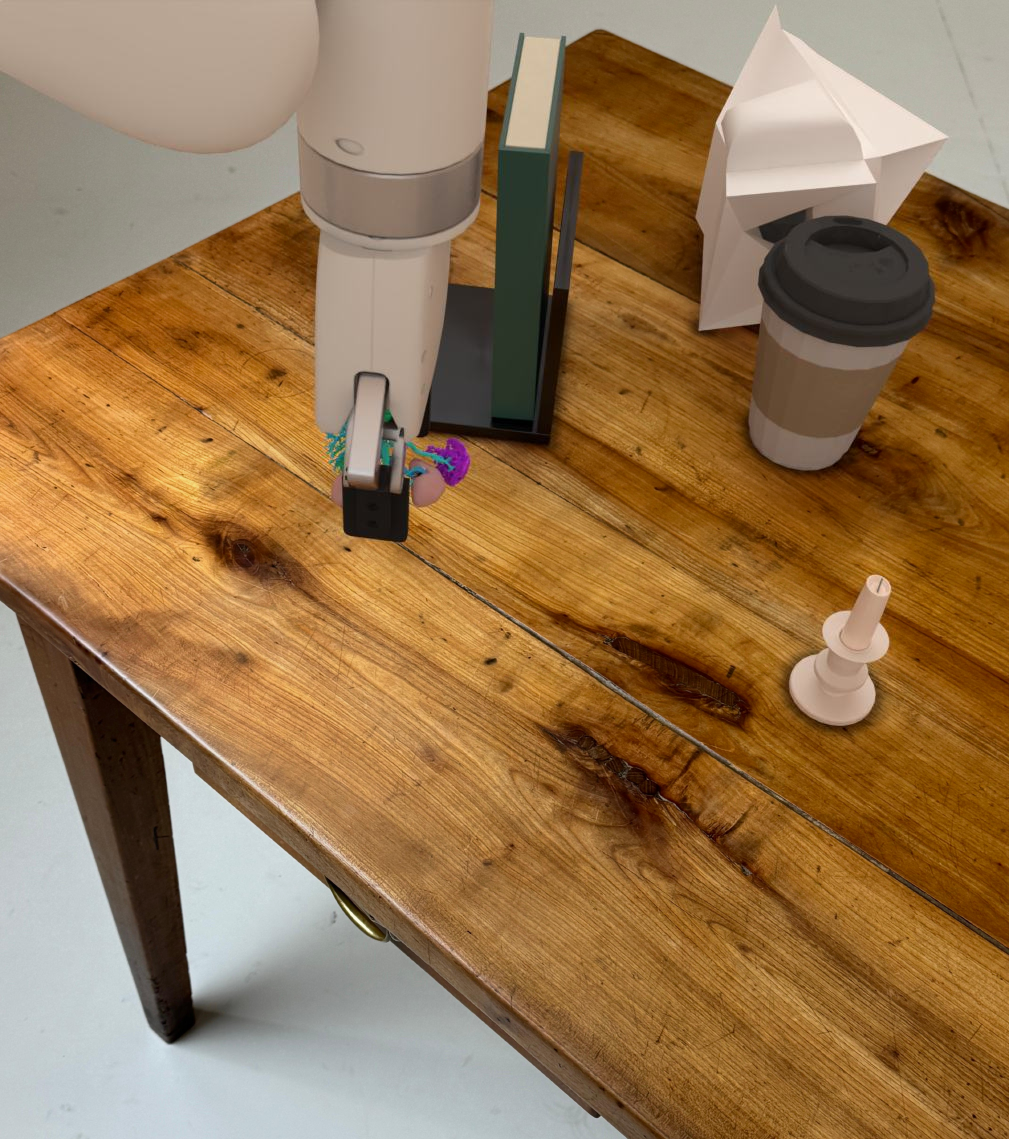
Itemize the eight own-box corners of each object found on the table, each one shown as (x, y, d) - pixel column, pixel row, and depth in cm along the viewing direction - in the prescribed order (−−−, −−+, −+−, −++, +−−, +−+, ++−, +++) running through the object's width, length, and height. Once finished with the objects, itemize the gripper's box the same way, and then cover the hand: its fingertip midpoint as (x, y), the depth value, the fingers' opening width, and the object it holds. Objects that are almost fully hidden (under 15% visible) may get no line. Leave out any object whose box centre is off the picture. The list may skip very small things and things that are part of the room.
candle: (888, 688, 78) (945, 574, 70) (847, 741, 76) (902, 629, 68) (814, 644, 80) (862, 528, 72) (772, 695, 78) (817, 580, 69)
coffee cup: (863, 390, 96) (929, 211, 84) (888, 497, 89) (963, 318, 77) (713, 380, 95) (758, 198, 84) (725, 487, 88) (776, 305, 77)
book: (498, 149, 74) (550, 153, 73) (519, 32, 82) (566, 35, 82) (490, 417, 89) (533, 420, 89) (509, 295, 98) (548, 298, 98)
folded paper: (757, 141, 84) (996, 159, 87) (682, -27, 98) (889, -6, 102) (690, 351, 97) (900, 360, 100) (632, 176, 112) (817, 189, 115)
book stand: (389, 427, 90) (388, 268, 80) (420, 290, 100) (423, 133, 89) (549, 445, 90) (569, 289, 79) (564, 306, 100) (584, 151, 89)
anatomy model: (446, 493, 61) (480, 390, 64) (285, 459, 62) (327, 359, 65) (446, 557, 65) (477, 457, 69) (296, 524, 66) (334, 427, 70)
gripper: (338, 53, 58) (346, 366, 72) (254, 280, 47) (282, 596, 61) (503, 74, 58) (478, 383, 72) (455, 306, 47) (437, 616, 61)
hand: (388, 479), depth 66 cm, fingers closed on anatomy model, 7 cm apart
